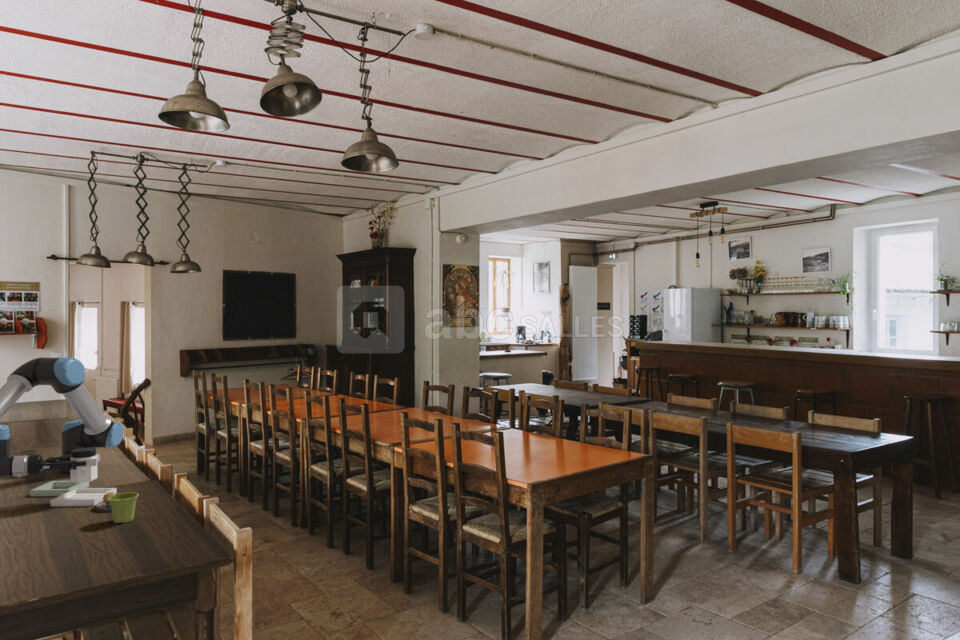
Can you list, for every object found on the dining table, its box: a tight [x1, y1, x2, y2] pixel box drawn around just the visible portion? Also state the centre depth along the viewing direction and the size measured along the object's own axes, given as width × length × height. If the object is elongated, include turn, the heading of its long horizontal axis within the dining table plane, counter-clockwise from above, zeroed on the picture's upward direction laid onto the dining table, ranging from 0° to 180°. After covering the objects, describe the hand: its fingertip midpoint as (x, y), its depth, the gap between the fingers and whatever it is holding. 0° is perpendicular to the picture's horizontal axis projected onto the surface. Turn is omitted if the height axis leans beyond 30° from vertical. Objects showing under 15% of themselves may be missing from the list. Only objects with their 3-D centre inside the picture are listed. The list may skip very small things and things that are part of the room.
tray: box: [50, 487, 118, 507], centre depth 243 cm, size 16×16×2 cm
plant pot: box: [108, 492, 140, 524], centre depth 219 cm, size 9×9×9 cm
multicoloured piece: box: [94, 491, 114, 513], centre depth 234 cm, size 12×12×8 cm
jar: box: [69, 447, 99, 483], centre depth 243 cm, size 9×8×12 cm
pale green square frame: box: [29, 480, 90, 497], centre depth 255 cm, size 14×15×2 cm
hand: (98, 459), depth 245 cm, fingers closed on jar, 8 cm apart
